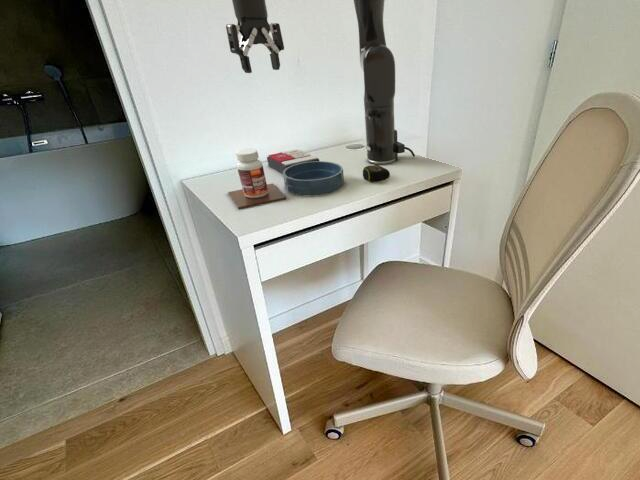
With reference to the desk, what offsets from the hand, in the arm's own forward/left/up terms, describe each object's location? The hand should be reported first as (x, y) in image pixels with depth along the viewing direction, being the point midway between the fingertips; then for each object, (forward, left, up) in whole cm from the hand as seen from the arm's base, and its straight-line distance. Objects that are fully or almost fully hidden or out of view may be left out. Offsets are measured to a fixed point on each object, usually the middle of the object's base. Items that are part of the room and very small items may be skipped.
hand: (262, 71), depth 101 cm
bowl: (-5, +14, -28) cm, 31 cm away
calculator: (-5, -4, -28) cm, 29 cm away
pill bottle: (+11, +13, -28) cm, 32 cm away
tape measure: (-22, +19, -28) cm, 40 cm away
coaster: (+11, +13, -28) cm, 33 cm away
